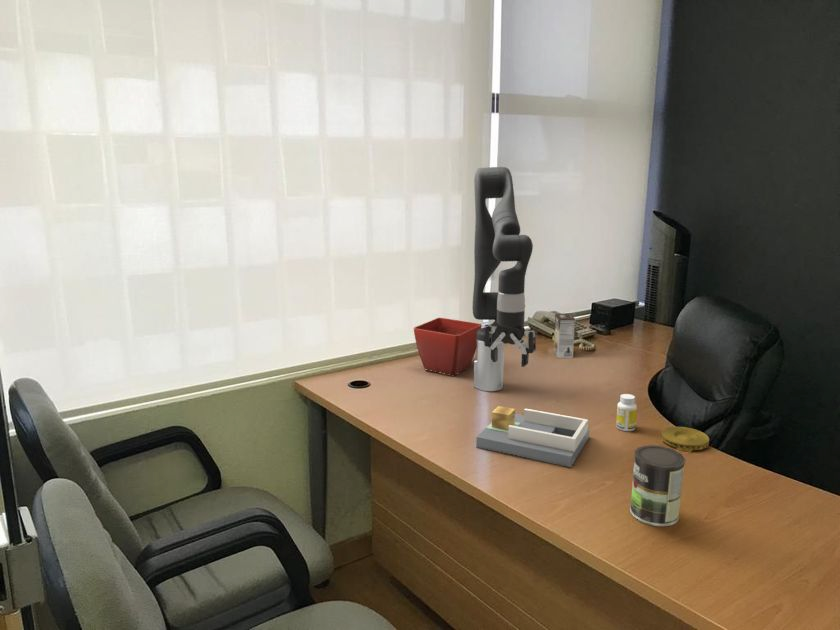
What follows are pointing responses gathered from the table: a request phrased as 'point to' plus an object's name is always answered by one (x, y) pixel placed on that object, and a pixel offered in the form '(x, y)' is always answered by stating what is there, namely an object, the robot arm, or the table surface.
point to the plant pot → (446, 344)
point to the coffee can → (657, 485)
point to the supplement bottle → (626, 413)
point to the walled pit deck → (539, 437)
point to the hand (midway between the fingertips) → (509, 363)
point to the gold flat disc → (685, 438)
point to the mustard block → (503, 417)
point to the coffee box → (564, 335)
